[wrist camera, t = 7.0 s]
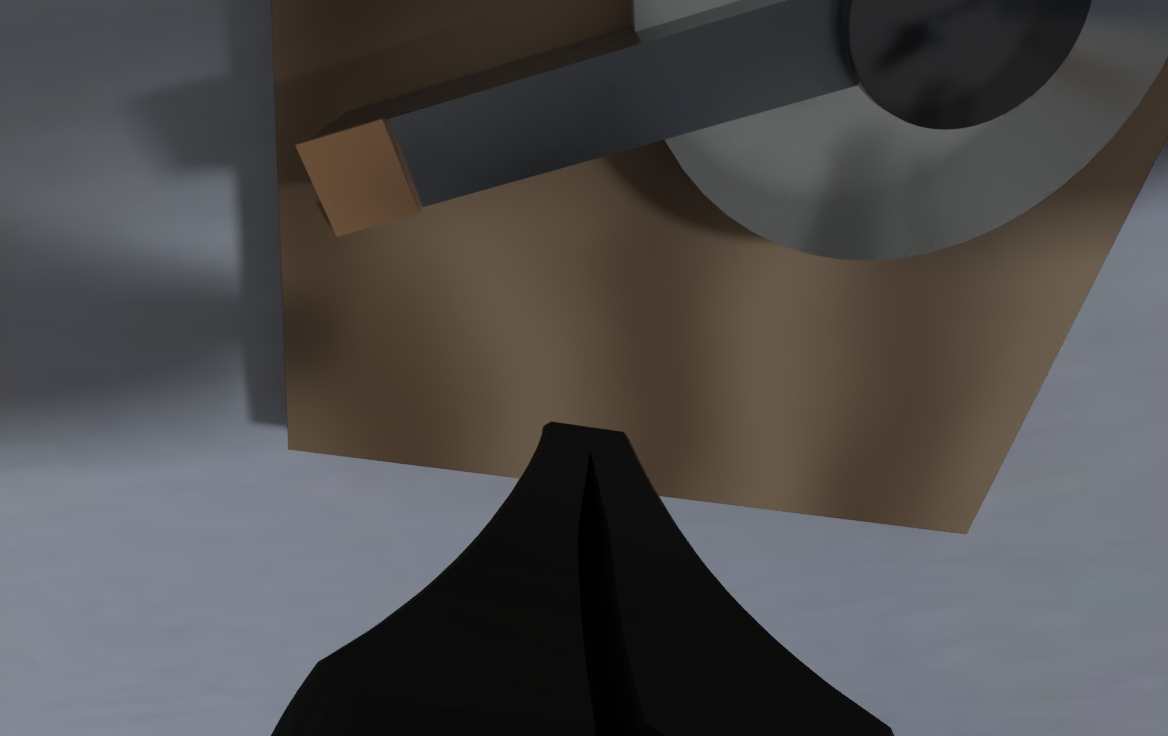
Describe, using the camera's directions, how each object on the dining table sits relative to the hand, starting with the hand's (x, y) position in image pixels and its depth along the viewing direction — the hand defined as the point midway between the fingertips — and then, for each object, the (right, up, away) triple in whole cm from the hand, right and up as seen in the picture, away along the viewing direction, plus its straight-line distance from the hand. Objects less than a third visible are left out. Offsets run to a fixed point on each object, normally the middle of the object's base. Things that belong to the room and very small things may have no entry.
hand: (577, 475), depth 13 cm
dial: (+3, +8, +3) cm, 9 cm away
